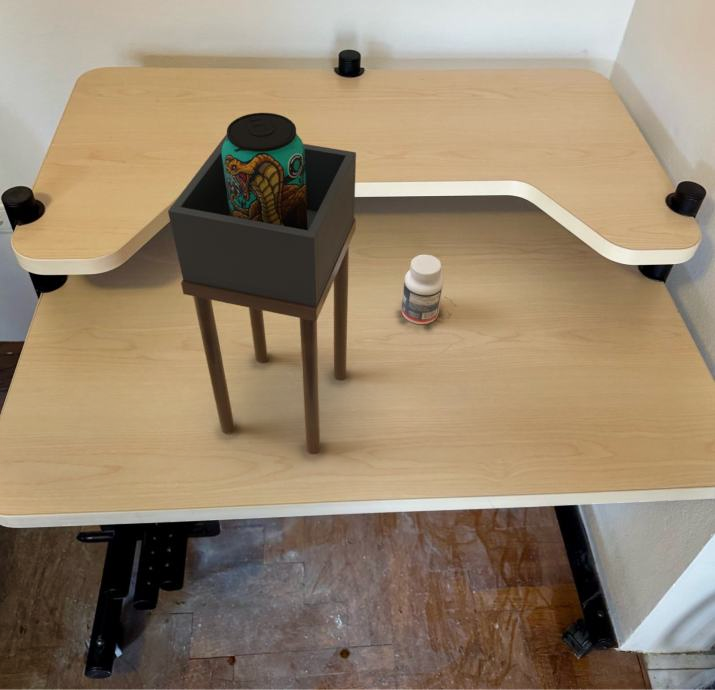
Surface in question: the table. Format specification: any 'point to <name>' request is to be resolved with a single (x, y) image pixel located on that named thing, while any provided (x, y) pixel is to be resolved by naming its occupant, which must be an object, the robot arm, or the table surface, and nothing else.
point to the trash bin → (266, 232)
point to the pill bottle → (422, 290)
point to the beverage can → (265, 170)
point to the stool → (256, 308)
